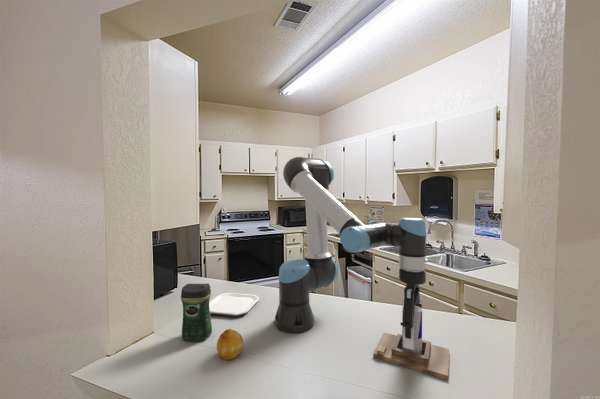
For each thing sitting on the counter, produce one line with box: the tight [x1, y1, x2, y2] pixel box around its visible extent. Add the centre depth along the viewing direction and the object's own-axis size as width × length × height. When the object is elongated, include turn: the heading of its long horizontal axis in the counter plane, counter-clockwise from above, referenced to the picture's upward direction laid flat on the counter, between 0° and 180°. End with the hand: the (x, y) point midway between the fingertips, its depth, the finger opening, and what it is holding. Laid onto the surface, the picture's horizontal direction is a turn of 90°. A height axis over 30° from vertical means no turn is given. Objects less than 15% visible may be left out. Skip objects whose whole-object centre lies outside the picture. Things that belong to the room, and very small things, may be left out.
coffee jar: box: [180, 283, 213, 342], centre depth 93 cm, size 10×8×19 cm
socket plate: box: [372, 331, 450, 381], centre depth 82 cm, size 20×14×3 cm
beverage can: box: [401, 304, 423, 355], centre depth 81 cm, size 6×6×15 cm
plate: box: [209, 292, 260, 317], centre depth 118 cm, size 21×21×2 cm
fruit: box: [216, 328, 244, 360], centre depth 83 cm, size 8×8×8 cm
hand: (411, 336), depth 82 cm, fingers open, 13 cm apart
